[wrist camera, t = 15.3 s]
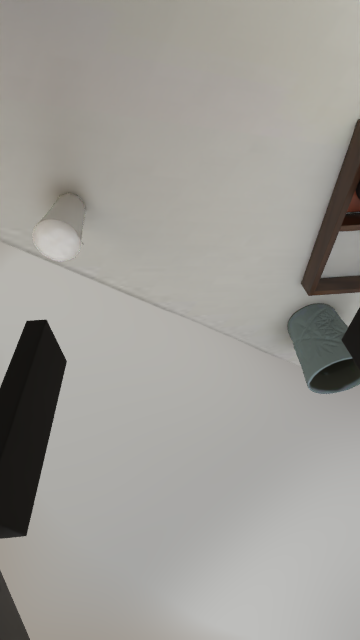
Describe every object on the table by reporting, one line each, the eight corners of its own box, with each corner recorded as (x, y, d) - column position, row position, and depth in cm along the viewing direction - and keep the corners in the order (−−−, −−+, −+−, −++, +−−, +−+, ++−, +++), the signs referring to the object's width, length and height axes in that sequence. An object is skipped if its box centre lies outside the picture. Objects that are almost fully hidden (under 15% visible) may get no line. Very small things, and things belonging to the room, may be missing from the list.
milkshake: (104, 215, 36) (94, 262, 29) (64, 228, 37) (45, 276, 30) (85, 179, 33) (69, 221, 26) (43, 193, 34) (16, 238, 27)
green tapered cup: (335, 291, 49) (375, 348, 40) (343, 326, 55) (378, 381, 47) (276, 316, 52) (301, 373, 43) (290, 346, 58) (314, 401, 50)
